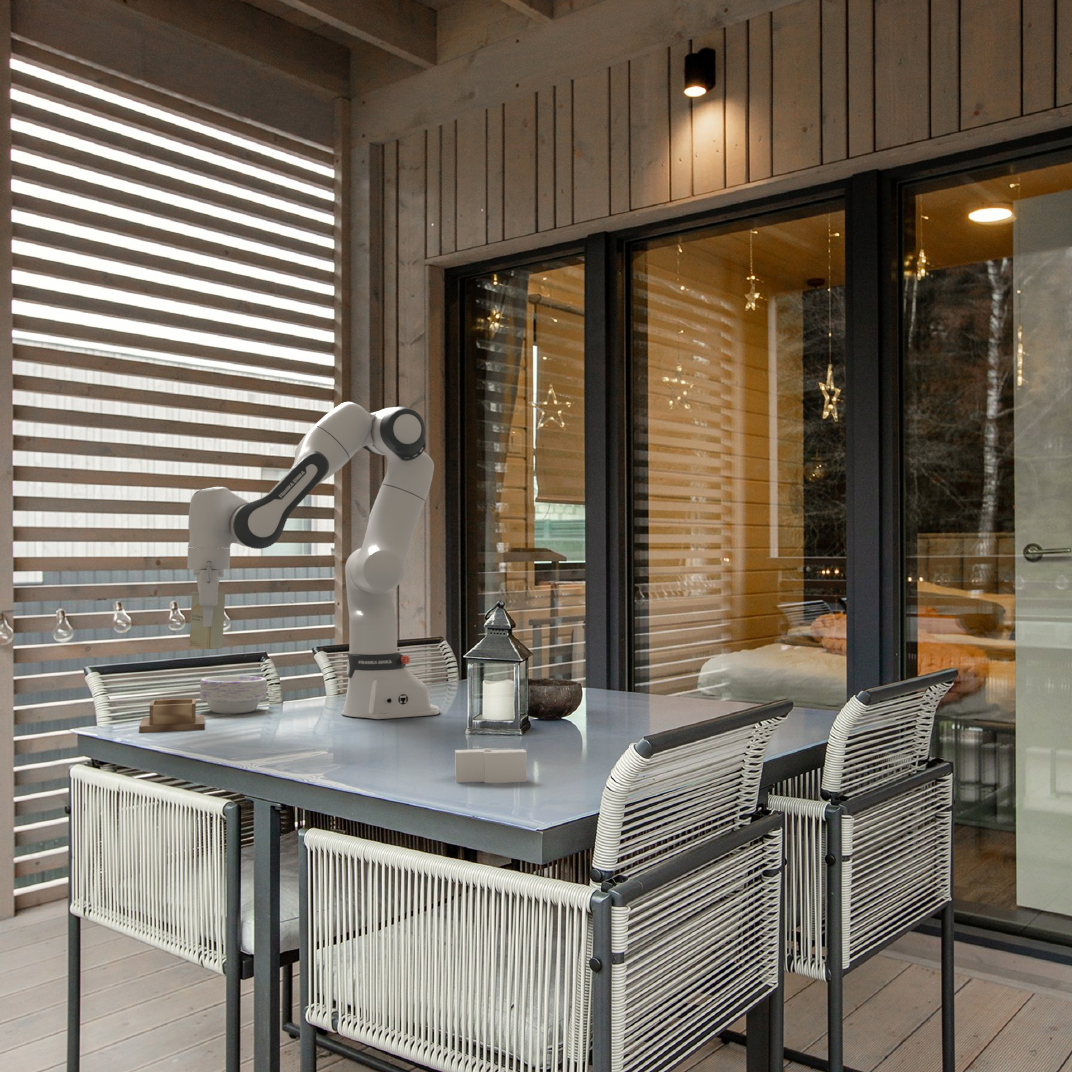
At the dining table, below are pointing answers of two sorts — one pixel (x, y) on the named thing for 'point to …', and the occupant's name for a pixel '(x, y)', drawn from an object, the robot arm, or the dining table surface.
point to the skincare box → (207, 635)
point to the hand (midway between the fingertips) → (207, 625)
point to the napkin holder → (491, 765)
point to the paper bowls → (233, 693)
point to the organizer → (172, 716)
